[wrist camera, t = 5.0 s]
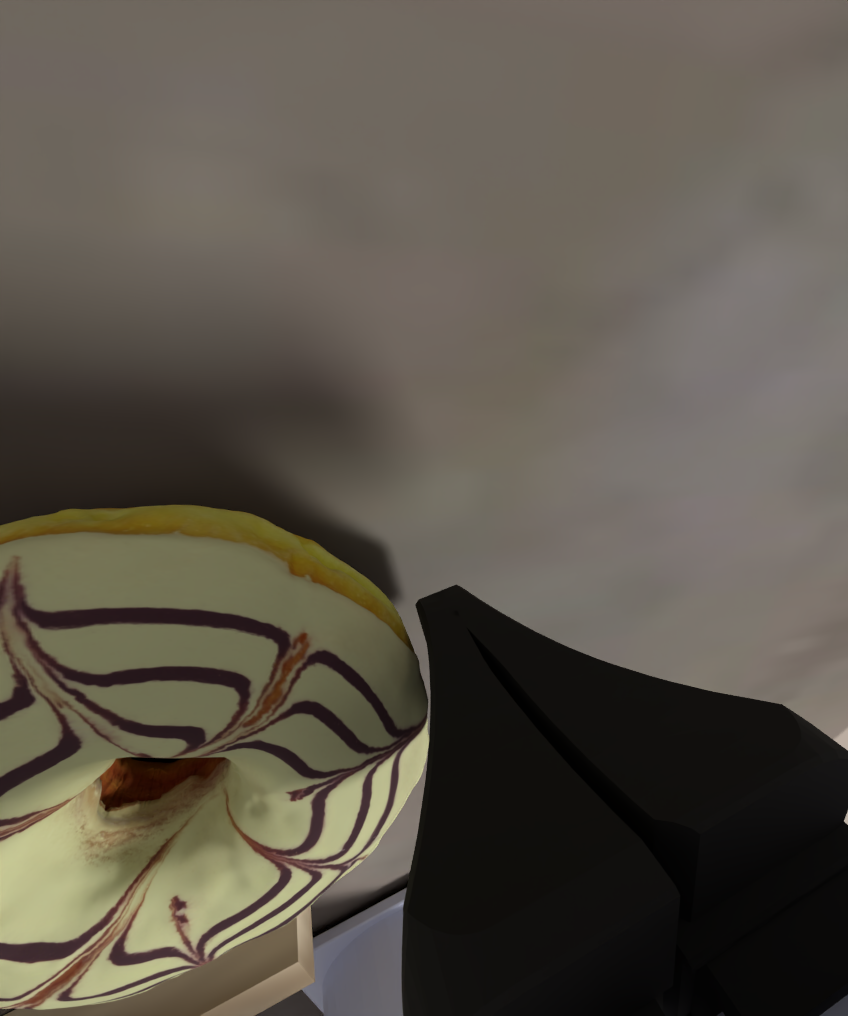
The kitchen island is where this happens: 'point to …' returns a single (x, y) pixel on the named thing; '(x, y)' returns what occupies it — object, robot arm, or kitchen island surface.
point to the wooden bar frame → (222, 981)
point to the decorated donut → (184, 741)
